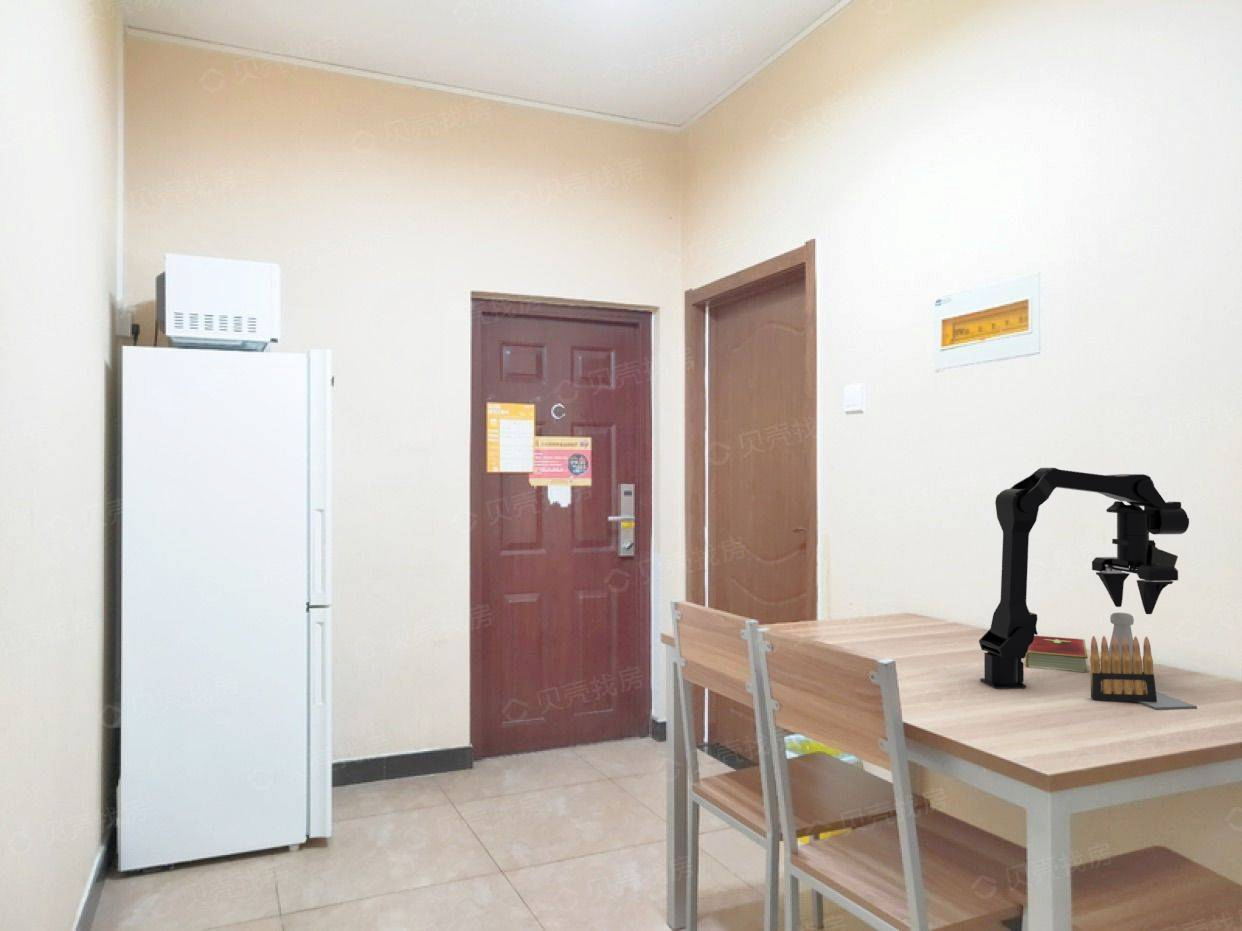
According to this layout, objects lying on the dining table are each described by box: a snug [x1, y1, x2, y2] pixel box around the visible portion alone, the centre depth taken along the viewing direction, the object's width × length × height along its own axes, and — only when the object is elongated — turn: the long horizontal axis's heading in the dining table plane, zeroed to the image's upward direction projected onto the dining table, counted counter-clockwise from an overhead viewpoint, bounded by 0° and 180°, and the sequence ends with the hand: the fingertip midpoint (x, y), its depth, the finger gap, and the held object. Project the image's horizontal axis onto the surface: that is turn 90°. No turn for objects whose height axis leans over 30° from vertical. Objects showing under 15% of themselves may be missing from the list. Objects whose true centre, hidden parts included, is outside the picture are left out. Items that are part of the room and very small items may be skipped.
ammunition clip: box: [1089, 635, 1157, 702], centre depth 162 cm, size 11×2×12 cm, turn 71°
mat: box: [1133, 690, 1198, 711], centre depth 163 cm, size 8×12×1 cm, turn 5°
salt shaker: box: [1108, 612, 1135, 672], centre depth 183 cm, size 6×6×13 cm
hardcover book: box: [1025, 634, 1089, 673], centre depth 197 cm, size 12×21×4 cm, turn 153°
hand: (1133, 610), depth 177 cm, fingers open, 9 cm apart
